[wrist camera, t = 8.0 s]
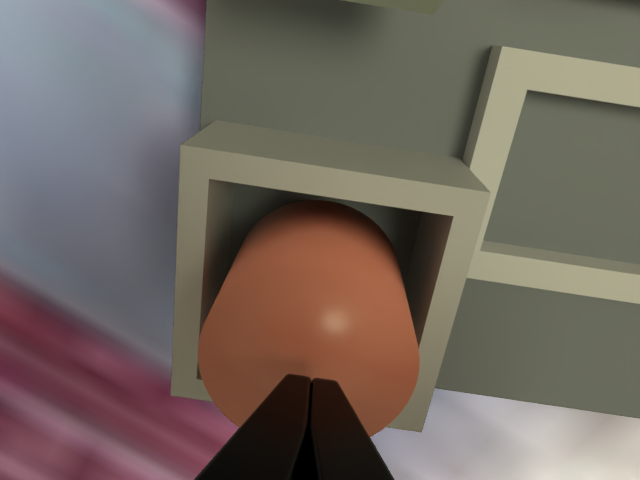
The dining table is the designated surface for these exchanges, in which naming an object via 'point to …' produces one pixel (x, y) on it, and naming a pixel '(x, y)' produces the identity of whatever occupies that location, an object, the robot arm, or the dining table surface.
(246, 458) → the robot arm
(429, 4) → the green rocker
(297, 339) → the red button
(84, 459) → the dining table surface
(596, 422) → the dining table surface
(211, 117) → the panel
